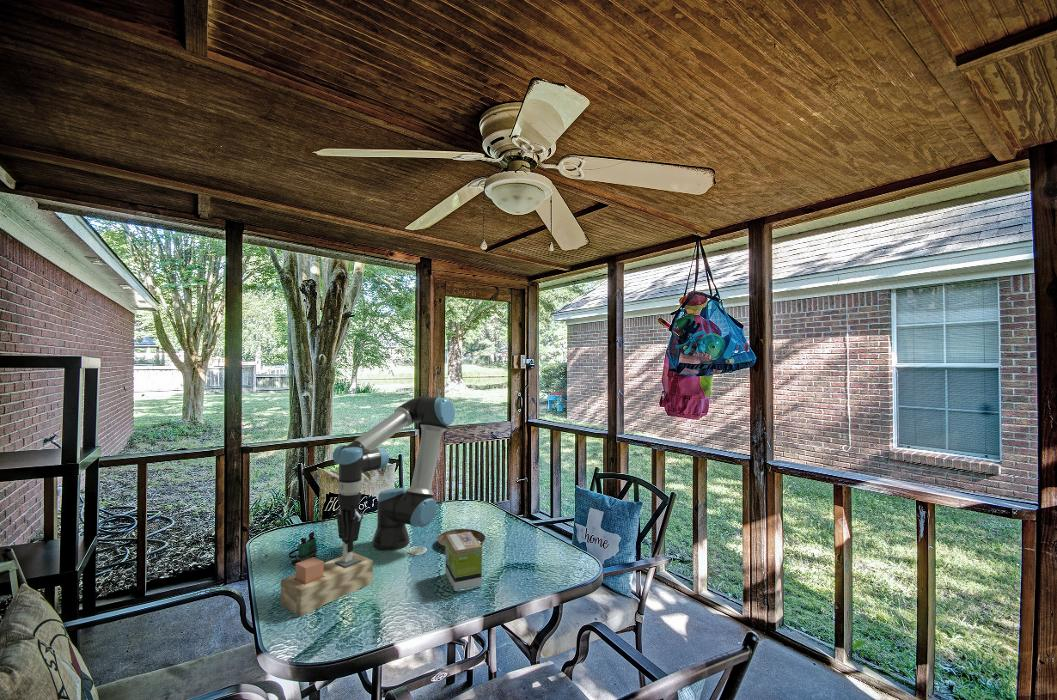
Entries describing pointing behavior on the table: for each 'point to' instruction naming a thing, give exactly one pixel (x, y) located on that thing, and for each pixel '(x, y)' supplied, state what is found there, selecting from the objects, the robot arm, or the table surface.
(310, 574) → the terracotta plunger
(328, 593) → the frame
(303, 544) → the binoculars
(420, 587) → the table surface
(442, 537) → the plant saucer
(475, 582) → the tea box
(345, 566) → the gray block
